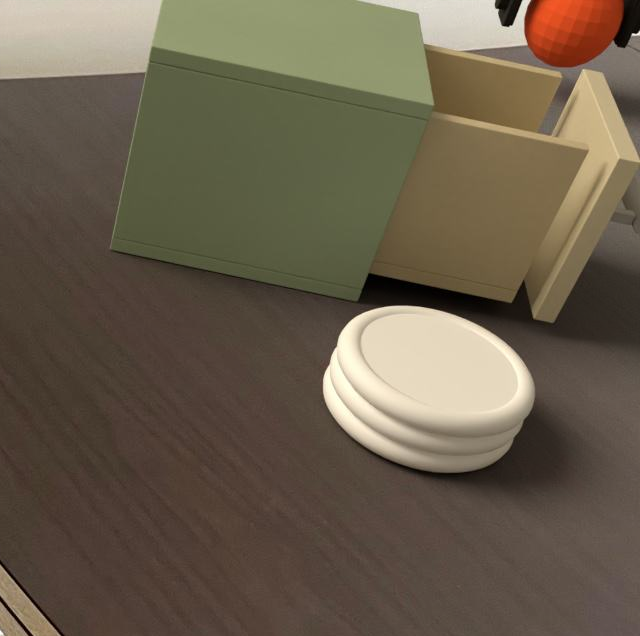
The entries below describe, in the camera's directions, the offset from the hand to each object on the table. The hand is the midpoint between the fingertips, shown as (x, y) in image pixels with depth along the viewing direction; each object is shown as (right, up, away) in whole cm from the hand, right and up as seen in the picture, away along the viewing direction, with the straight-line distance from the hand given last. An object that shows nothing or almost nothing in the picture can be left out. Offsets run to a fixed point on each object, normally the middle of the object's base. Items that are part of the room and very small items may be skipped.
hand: (560, 29), depth 89 cm
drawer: (-14, -23, -18) cm, 32 cm away
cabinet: (-28, -20, -17) cm, 39 cm away
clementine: (0, -2, +2) cm, 3 cm away
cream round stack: (-20, -34, -28) cm, 49 cm away
